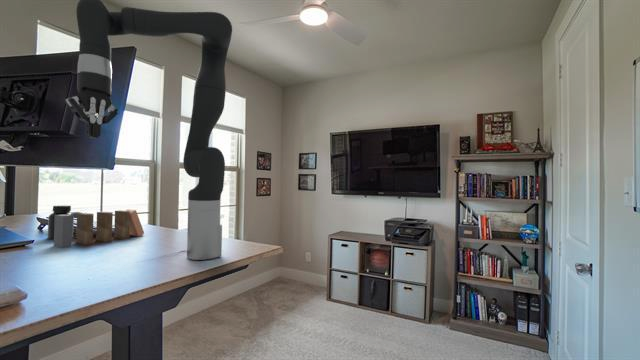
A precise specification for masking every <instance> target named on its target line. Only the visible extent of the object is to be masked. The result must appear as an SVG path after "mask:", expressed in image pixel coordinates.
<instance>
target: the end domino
mask: <svg viewBox="0 0 640 360" xmlns="http://www.w3.org/2000/svg"><path fill="white" fill-rule="evenodd" d="M72 239H73V237H72V215H55V223H54V240H53V247H56V248H60V249H65V248H71V247H72Z"/></svg>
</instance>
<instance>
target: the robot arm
mask: <svg viewBox="0 0 640 360" xmlns="http://www.w3.org/2000/svg"><path fill="white" fill-rule="evenodd" d="M76 21H77V22H76V23H77V28H78V29H77V30H78V33H79V45H78V47H79V55H78V60H77V76H76V90H77V91H76V92H75V94H74V96H72V97H69V98H65V99H64V102H65V105H67V107H68V108H69V109H70V110H71V112H72V113H73V114H74V115H75V117H76V119H78V120H79V121H82V122H84V123H85V124H86V125H85V126H86V127H85V134H86V136H87V137H88V138H89V139H99V137H101V131H102V130H101V128H102V125H105V124H109V123H110V122H111V121H112V120H113V119H114V118H115V117H117V115H118V114H119V113H117V111H118V110H117V109H119V108H116V107H115V106H114V105H113V100H112V99H111V95H112V78H113V75H112V74H113V68H112V46H111V45H112V44H111V43H110V39H109V36H110V37H111V36H112V37H113V36H124V35H135V36H136V35H137V36H141V37H142V36H143V37H144V36H145V37H155V38H158V37H160V38H161V37H167V36H173V35H178V34H194V35H197V36H200V41H201V60H200V65H199V69H198V72H197V75H196V79H195V83H194V89H193V97H192V99H193V100H192V109H191V118H190V123H189V124H190V125H189V130H188V131H189V132H188V135H187V141H186V145H185V149H184V153H183V169H184V171H185V173H186V174H187V175H188V176H189V177H192V178H198V183H197V185H196V186H195V187H193V188H192V189H190V190H189V191H188V195H187V196H188V197H187V236H186V237H187V238H186V239H187V240H186V244H187V245H186V258H187V259H189V260H194V261H195V260H196V261H199V260H201V261H203V260H211V259H216V258H218V257H222V255H223V254H222V250H223V249H222V246H223V245H222V244H223V243H222V242H223V225H222V224H221V204H222V203H221V201H222V200H221V199H222V198H221V197H222V193H223V191H224V187H225V186H224V185H225V183H224V182H225V173H226V172H225V171H226V161H225V157H224V154H223V152H222V151H221V150H220V149H219V148H217V147H215V146H214V147H213V146H209V142H210V138H211V134H212V132H213V130H214V128H215V126H216V125H217V123H218V121H219V120H220V118H221V116H222V114H223V111H224V110H225V102H226V91H227V89H226V88H227V87H226V86H227V85H226V74H225V73H226V72H225V69H226V68H225V67H226V61H227V55H228V52H229V48H230V45H231V40H232V35H233V24H232V23H231V21H230V19H229V18H228V17H227V16H226V15H224V14H222V13H220V12H216V11H162V10H161V11H160V10H159V11H158V10H152V9H146V8H145V9H144V8H138V7H132V6H131V7H130V6H129V7H127V6H124V7H122V9H121V10H120V11H110V10H109V9H108V6H107V5H106V4H105V3H104V2H103V1H102V0H79V1H78V2H77V5H76ZM82 108H83V109H82ZM115 108H116V109H115ZM106 111H107V113H106V114H105V112H106Z"/></svg>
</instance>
